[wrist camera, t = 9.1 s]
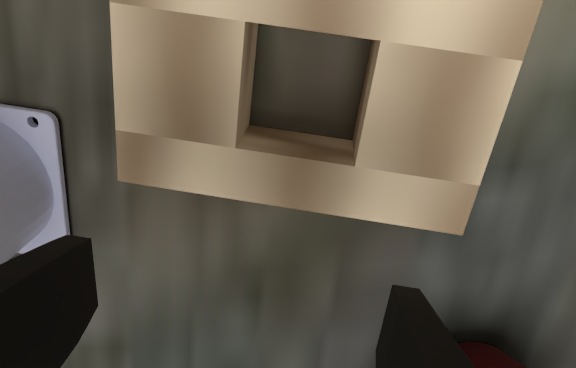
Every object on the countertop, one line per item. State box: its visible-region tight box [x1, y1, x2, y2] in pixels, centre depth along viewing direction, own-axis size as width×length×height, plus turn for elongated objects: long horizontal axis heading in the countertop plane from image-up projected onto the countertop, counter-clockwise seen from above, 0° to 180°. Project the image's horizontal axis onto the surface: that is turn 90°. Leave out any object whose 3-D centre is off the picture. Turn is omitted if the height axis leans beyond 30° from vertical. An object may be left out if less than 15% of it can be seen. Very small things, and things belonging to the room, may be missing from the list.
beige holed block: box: [110, 0, 544, 235], centre depth 17 cm, size 14×9×3 cm, turn 83°
